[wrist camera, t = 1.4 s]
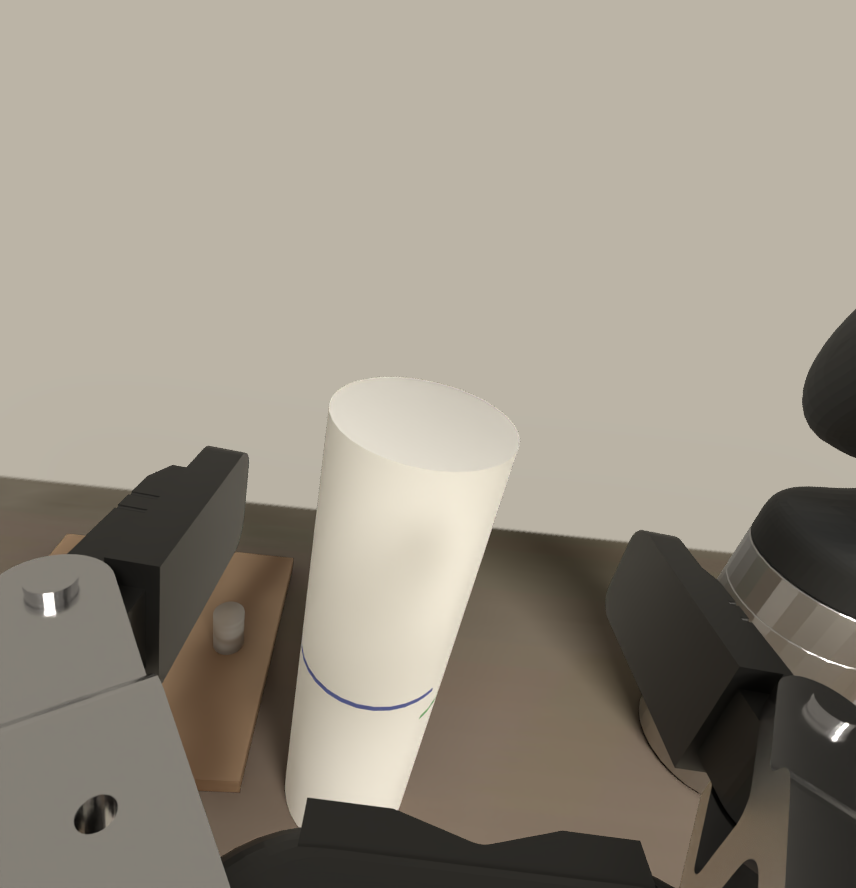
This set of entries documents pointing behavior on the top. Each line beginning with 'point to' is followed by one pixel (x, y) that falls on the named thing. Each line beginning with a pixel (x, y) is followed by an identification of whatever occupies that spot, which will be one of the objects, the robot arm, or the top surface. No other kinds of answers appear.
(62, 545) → the peg board
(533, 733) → the top surface
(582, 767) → the top surface
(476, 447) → the cylindrical container
